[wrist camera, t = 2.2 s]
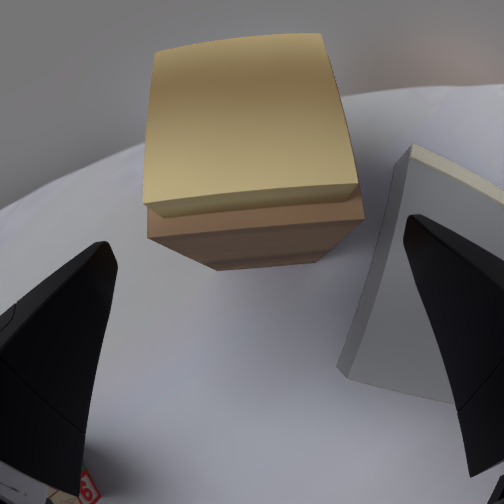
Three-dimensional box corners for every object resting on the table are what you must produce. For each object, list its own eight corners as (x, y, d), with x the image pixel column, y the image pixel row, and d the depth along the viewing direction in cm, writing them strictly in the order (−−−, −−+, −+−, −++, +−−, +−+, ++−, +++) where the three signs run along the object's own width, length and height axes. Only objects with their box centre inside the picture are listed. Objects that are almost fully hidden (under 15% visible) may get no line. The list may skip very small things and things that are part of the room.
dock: (474, 400, 17) (499, 411, 13) (336, 366, 18) (348, 380, 15) (516, 224, 18) (541, 215, 15) (395, 164, 19) (413, 143, 16)
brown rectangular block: (315, 262, 19) (382, 202, 7) (217, 270, 19) (123, 226, 7) (304, 170, 20) (333, 24, 8) (212, 179, 20) (142, 45, 8)
